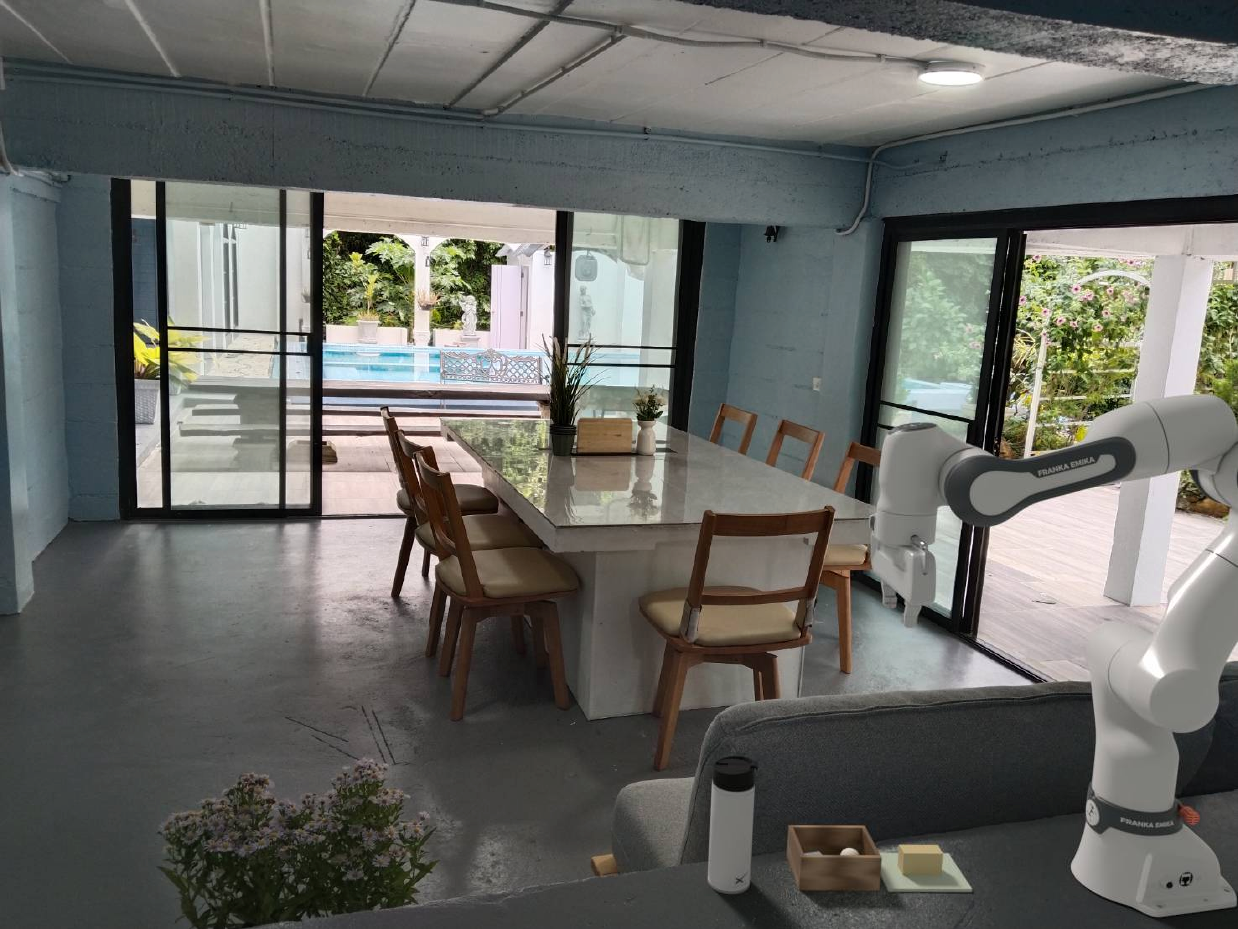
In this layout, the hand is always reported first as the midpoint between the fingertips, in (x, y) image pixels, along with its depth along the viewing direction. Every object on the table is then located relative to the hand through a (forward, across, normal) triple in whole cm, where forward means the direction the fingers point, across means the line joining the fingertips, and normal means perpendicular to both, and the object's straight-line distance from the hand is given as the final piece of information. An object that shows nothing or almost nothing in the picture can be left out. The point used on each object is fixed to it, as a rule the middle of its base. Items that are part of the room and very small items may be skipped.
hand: (898, 616), depth 150 cm
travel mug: (+39, -10, +26) cm, 48 cm away
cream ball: (+38, -6, +7) cm, 39 cm away
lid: (+39, -8, -4) cm, 40 cm away
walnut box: (+39, -7, +10) cm, 41 cm away
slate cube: (+38, -8, +13) cm, 41 cm away
